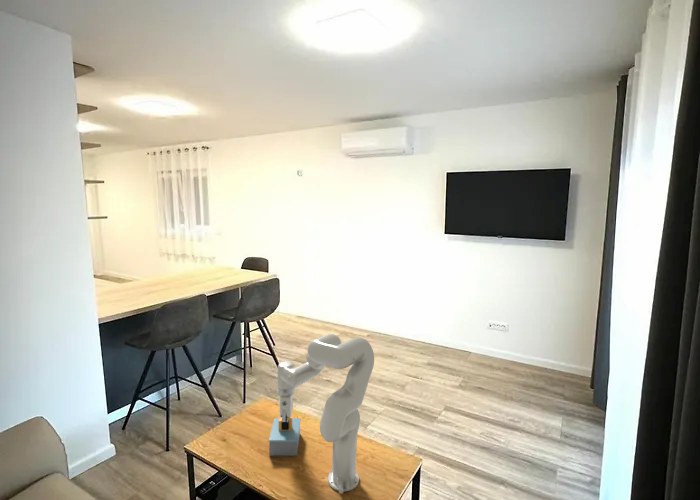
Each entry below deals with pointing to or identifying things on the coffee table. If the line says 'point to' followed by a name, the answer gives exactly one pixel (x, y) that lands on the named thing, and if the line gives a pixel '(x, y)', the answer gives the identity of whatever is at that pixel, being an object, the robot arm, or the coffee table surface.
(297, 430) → the tub lid
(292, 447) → the parts tub
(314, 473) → the coffee table surface
